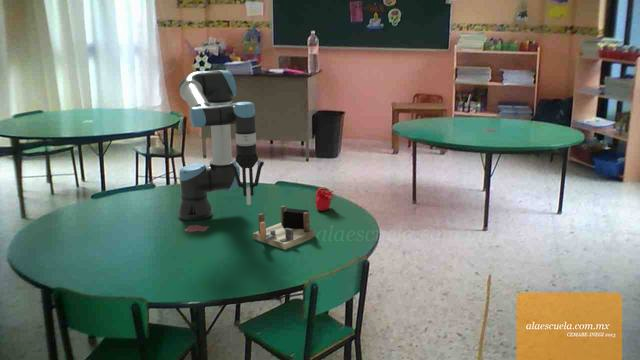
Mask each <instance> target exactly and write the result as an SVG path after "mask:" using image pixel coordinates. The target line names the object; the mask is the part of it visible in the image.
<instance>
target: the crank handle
mask: <svg viewBox="0 0 640 360" xmlns="http://www.w3.org/2000/svg"><path fill="white" fill-rule="evenodd" d="M266 223H267V222H266V221H264V222H260V241H259V242H261V241H263V242H262V243H264V242H266V241H268V240H270V239H272V238H274V237H276V234H275V230H271V231H270V234H268V235H266V228H267V224H266Z"/></svg>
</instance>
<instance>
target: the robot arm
mask: <svg viewBox="0 0 640 360" xmlns="http://www.w3.org/2000/svg"><path fill="white" fill-rule="evenodd" d="M178 93H179V95H180V98H182V100H183V101H185V102H186V103H187V105H188V107H189V108H190V109H189V121H190V125H191V127H193V128H204V127H210V133H211V134H210V135H211V150H212V151H211V152H212V153H211V155H212V158H211V160H210V161H209V165H206V164H205V163H203V162H196V163H190V164H187V165H185V166H183V167H182V168H180V169H179V176H178V177H179V178H178V179H179V184H180V185H179V187H180V203H179V208H178V211H177V212H178V213H177V216H178V218H179V219H180V220H184V221H201V220H205V219H208V218H210V217H212V215H213V208H212V206H211V203H210V201H209V198H208V193H210V192H211V193H212V192H219V191H229V190H234V189H237V188H242V190H243V193H242V194H243V197H246V205H247V206H251V205H252V199H251V198H252V197H253V196H254V194H255V193H254V188H255V187H258V185H259V181H260V176H261V171H262V168H263V166H264V165H265V163H264V160H261V159H259V156H258V154H257V152H258V151H257V144H256V143H257V133H256V109H255V104H254V103H253V102H252V101H239V102H238V101H237V102H233V98H235V97H236V96H237V85H236V81H235V78H234V76H233V73H232V72H231V71H230V70H228V69H227V70H223V69H222V70H221V69H220V70H219V69H218V70H217V69H216V70H205V71H203V70H202V71H201V70H200V71H194V72H191V73H189V74H187V75H185V76H184V77H183V78H182V79H181V81H180V83H179V85H178ZM231 125H234V126H235V127H234V128H235V133H234V134H235V144H236V145H235V147H236V148H235V150H236V152H235V153H236V156H235V158H233V155H232V153H233V152H232V134H231V133H232V132H231ZM255 165H257V168H256V173H255V178H254V176H253V175H254V174H253V172H254V171H253V168H254V167H255ZM240 168H241V169H242V170H241V169H240ZM246 169H248V177H249V179H248V180H249V186H247V174H246V173H247V171H246ZM240 170H241V171H242V172H241V171H240ZM241 175H242V180H241ZM241 181H242V182H241Z"/></svg>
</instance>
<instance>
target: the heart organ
mask: <svg viewBox="0 0 640 360" xmlns="http://www.w3.org/2000/svg"><path fill="white" fill-rule="evenodd" d="M334 196H335V193H334V191H333V190H328V189H327V188H326V187H325V186H324V187H323V186H322V187H319V188H318V189H317V190H316V191H315V196H314V198H315V199H314V200H315V201H314V203H315V207H316V209H317V210H318V211H320V212H322V211H323V212H324V211H326V210H328V209H329V208H330V207H331V204H332V201H333V198H334Z"/></svg>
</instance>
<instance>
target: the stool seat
mask: <svg viewBox="0 0 640 360" xmlns="http://www.w3.org/2000/svg"><path fill="white" fill-rule="evenodd" d="M287 208H288V207H287V205H281V206H280V220H281V221H280V222H279V223H277V224H276V223H275V224H274V225H271V226H269V227H266V235H268V234H270V231H271V230H275V234H276V237H274V238H272V239H270V240H268V241H266V242H263V241H260V222H265V213H258V214H257V218H258V219H257V220H258V221H257V222H258V231H255V232H253V234H252V235H253V237H252V238H253V240H256V241H257V242H258V241H259V242H261V243H264V244H267V245H269V246H272V247H276V248H278V249H280V250H284V251H285V250H287V249H290V248H293V247H295V246H297V245H300V244H302V243H304V242H307V241H309V240H312V239H314V238H316V231H315V230H314V229H313V230H312V229H310V226H311V225H310V212H304V213H303V214H304V229H290V228H283V213H284V210H285V209H287ZM313 237H314V238H313Z"/></svg>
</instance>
